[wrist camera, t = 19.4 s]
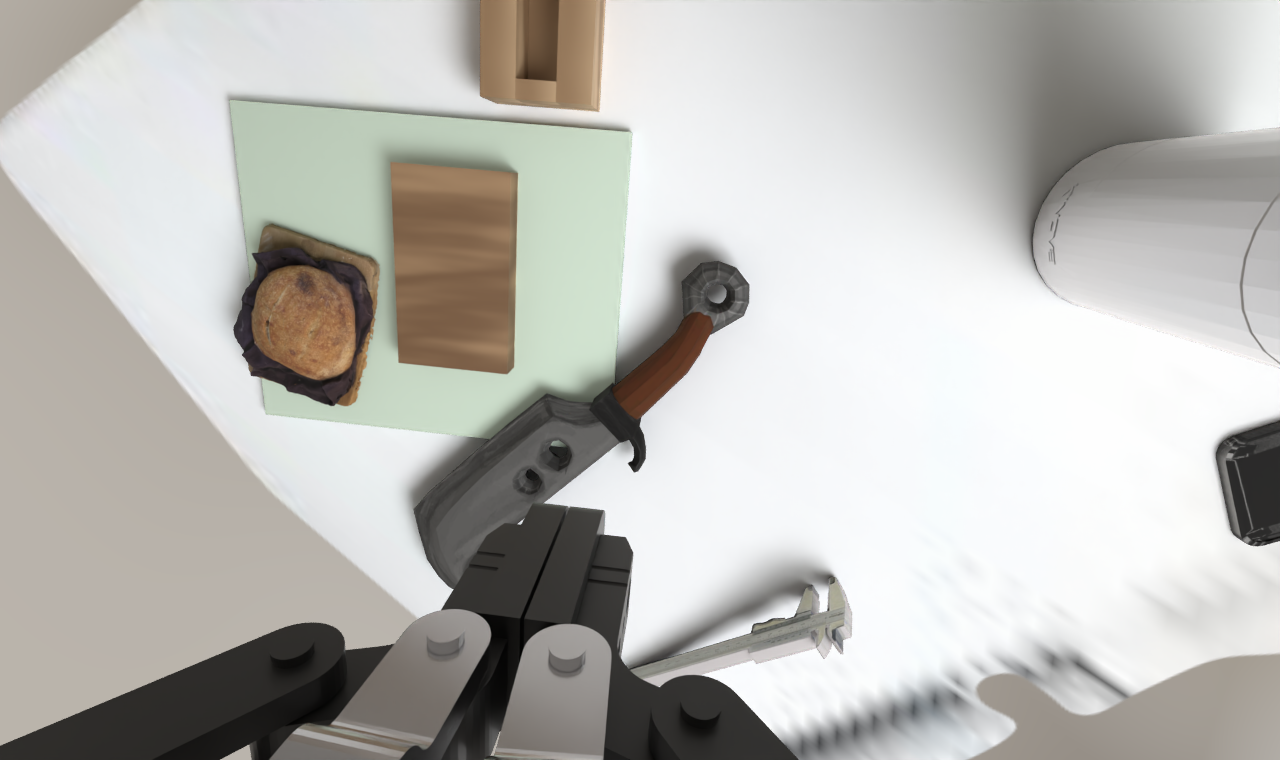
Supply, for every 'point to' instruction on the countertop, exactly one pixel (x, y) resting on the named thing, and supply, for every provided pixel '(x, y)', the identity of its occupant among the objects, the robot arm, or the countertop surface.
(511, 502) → the knife
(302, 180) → the mat
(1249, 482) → the phone
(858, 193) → the countertop surface
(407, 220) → the board
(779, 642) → the caliper
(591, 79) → the stand
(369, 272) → the bread roll
